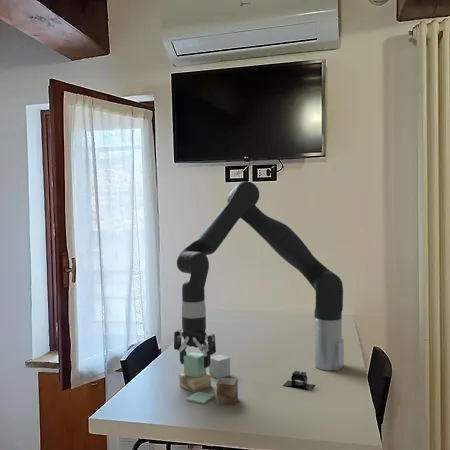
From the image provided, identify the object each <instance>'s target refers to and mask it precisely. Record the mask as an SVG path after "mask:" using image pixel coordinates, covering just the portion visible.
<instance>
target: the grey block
mask: <svg viewBox="0 0 450 450" xmlns="http://www.w3.org/2000/svg"><path fill="white" fill-rule="evenodd" d="M208 373H209V374H211V377H213V378H216V379H217V380H220V378H227V377H229V376H231V357H230V356H226V355H224V354H217V355H214V356H210V365H209V367H208Z"/></svg>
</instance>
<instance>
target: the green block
mask: <svg viewBox="0 0 450 450" xmlns="http://www.w3.org/2000/svg"><path fill="white" fill-rule="evenodd" d="M183 373H184V376H191V377H197V378H198V377H200V376H201V375H203V374H205V373H207V368H204V354H203V353H202V352H201V353H200V352H190V353H188V354H186V356H184V364H183Z"/></svg>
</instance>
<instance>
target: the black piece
mask: <svg viewBox="0 0 450 450" xmlns="http://www.w3.org/2000/svg"><path fill="white" fill-rule="evenodd" d="M290 379H291V380H287V381H286V382H285V383H284V384H283V385H282V387H285V388H290V389H291V388H292V389H297V390H303V391H307V392H312V391H313V390H314V388H315V387H316V386H317V384H313V383H308V375H307V372H305V371H298V370H295V371H294V372H292V374H291V377H290Z"/></svg>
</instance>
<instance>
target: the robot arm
mask: <svg viewBox="0 0 450 450" xmlns="http://www.w3.org/2000/svg"><path fill="white" fill-rule="evenodd" d="M259 199H260V190H259V188H258V186H257V185H256V184H255V183H253V182H251V181H248V180H247V181H242V182H240V183H238V184H236V186H235V187H234V188H233V189H232V190H231V191H230V192H229V193H228V195H227V197H226V201H227V202H226V205H225V206H224V207H223V209H222V210H221V211H220V212H219V213H218V214H217V216H216V217H214V219H213V220H211V222H210V223H209V224H208V226H206V227H205V229H204V230H203V231H202V232H201V234H200V235H199V236H198V238H197V239H195V240H194V241H192V242H191V243H190V244H188V245H187V246H186V247H184V249H182V251H181V252H180V253H179V255H178V256H177V259H176V267H177V270H179V271H180V272H181V273H185V274H190V277H189V280H188V281H185V282H184V283H182V286H181V287H182V289H181V292H182V293H181V296H182V297H181V299H182V301H181V327H182V328H181V329H182V330H181V329H178V330H176V331H174V332H173V349H174V350H175V351H176V350H177V352H179V361H180V365H184V356H186V355H187V349H188V347H190V348H191V347H193V348H196V349H197V348H198V350H199V351H201V354H204V368H206V369H207V368H209V365H210V357H211V356H212V355H214V354H216V353H217V349H216V336H215V334H214V333H212V334H207V332H206V329H207V318H206V317H207V314H206V312H207V311H206V309H207V308H206V302H205V301H206V299H205V297H206V296H205V286H206V283H207V278H208V273H209V269H210V268H209V267H210V262H209V259H208V256H209V255H212V254H214V253H216V251H217V250H218V248H220V246H221V245H222V243H223V242H224V241H225V239H226V238H227V237H228V235H229V233H230V232H231V231H232V230H233V228H234V226H235V225H236V224H237V222H238V221H239V220H240V219H242V220H243V221H244V222H245V223H247V225H249V226H250V227H251V228H252V229H253V230H254V231H255V232H256V233H257V234H258V235H259V236H260V237H261V238H262V239H263V240H264V241H265V242H266V243H267V244H268V245H269V246H270V247H271V248H272V249H273V251H275V252H276V254H278V255H279V256H280V257H281V258H282V259H283V260H284V261H285V262H286V263H288V264H289V265H291V266H292V267H293V268H294V269H296V270H297V271H298V272H300V273H301V274H302V276H303V277H304V278H305V279H306V280H307V282H308V283H309V284H310V285H311V287H312V288H313V290H314V291H315V307H314V314H313V315H314V366H315V368H316V369H319V370H321V371H322V370H323V371H328V372H329V371H330V372H331V371H337V372H338V371H340V370H341V369H343V367H344V366H345V362H344V361H345V359H344V358H345V356H344V355H345V353H344V351H345V349H344V348H345V347H344V344H345V343H344V340H345V339H344V338H342V337H343V336H342V335H343V331H342V330H343V328H342V327H343V326H342V325H343V324H342V323H343V322H342V314H343V313H342V312H343V307H344V287H343V285H344V284H343V281H342V280H341V278H340V277H339V276H338V275H337V274H336V273H334V271H332V270H330V269H329V268H328V267H326V266H325V265H324V264H323V263H321V262H320V261H319V260H318V259H317V258H316V257H315V256H314V255H313V253H312V252H311V250H310V249H309V248H308V246H307V245H306V244H305V243H304V241H303V240H302V239H301V238H300V237H299V236H298V235H297V234H296V233H295V231H293V230H292V228H290V227H289V226H288V225H287V224H285V223H283V222H282V221H279V220H277V219H274V218H272V217H270V216H269V215H267V214H265V213H264V212H263V211H261V210H260V209H259V207H258V206H256V204H257V203H258V201H259ZM182 338H183V339H184V340H183V342H182Z"/></svg>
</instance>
